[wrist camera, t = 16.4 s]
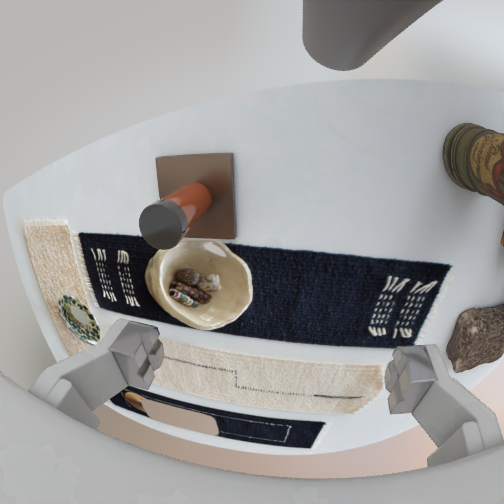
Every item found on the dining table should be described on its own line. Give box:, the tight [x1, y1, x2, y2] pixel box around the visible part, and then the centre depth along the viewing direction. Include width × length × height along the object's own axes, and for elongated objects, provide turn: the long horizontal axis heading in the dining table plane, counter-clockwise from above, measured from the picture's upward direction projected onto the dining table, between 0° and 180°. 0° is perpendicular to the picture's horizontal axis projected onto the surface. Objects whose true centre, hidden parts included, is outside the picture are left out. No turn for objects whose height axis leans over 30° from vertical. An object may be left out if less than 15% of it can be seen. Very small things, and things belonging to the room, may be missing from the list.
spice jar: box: [139, 182, 212, 250], centre depth 30 cm, size 5×5×10 cm
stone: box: [446, 305, 504, 373], centre depth 35 cm, size 11×13×6 cm
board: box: [156, 153, 236, 239], centre depth 35 cm, size 11×10×1 cm
